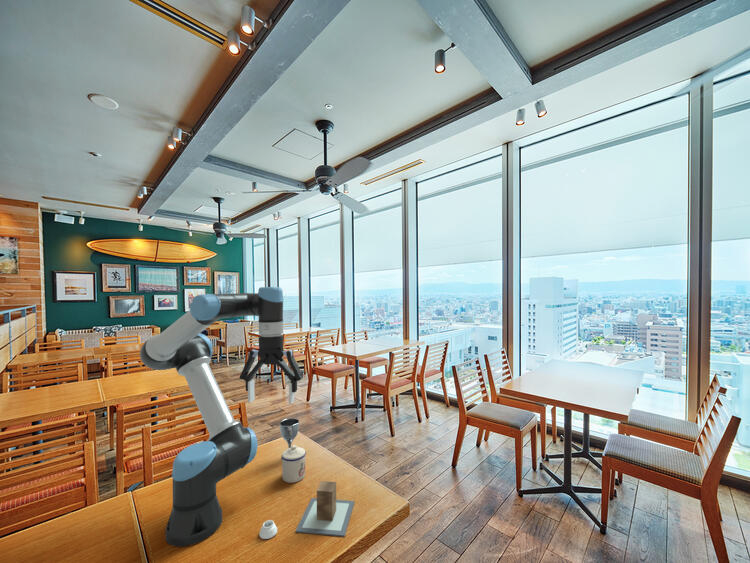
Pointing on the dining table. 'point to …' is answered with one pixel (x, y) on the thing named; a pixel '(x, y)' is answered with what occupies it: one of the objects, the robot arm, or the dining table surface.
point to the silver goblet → (289, 430)
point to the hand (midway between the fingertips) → (271, 401)
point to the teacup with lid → (293, 464)
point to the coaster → (326, 527)
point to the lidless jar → (268, 530)
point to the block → (326, 501)
